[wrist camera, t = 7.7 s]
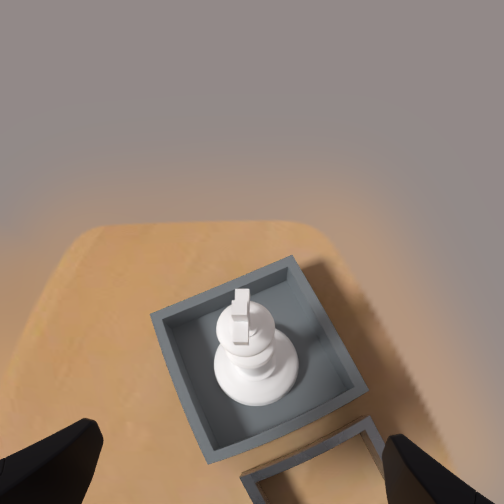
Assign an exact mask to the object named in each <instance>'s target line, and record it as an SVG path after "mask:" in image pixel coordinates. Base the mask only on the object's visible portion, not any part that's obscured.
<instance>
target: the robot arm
mask: <svg viewBox="0 0 504 504" xmlns="http://www.w3.org/2000/svg"><path fill="white" fill-rule="evenodd" d="M102 445H103V436H102V433H101V431H100V429H99V426H98V424H97V422H96V421H94V420H91V419H88V418H83V419H81V420H79V421H77V422H75V423H74V424H72V425H70V426H68V427H66V428H64V429H62V430H60V431H58V432H56V433H54V434H52V435H51V436H49V437H47V438H45V439H43V440H41V441H39V442H37V443H35V444H33V445H31V446H29V447H26V448H24V449H22V450H20V451H18V452H16V453H14V454H12V455H10V456H8V457H6V458H3V459H1V460H0V504H82V501H83V499H84V497H85V494H86V492H87V490H88V487H89V485H90V483H91V480H92V478H93V475H94V472H95V468H96V465H97V462H98V458H99V455H100V452H101V449H102ZM382 464H383V471H384V478H385V486H386V494H387V500H388V504H495V503H493V502H491V501H490V500H489V499H487V498H486V497H484V496H483V495H481V494H480V493H478V492H476V490H474V489H473V488H472V487H470V486H469V485H467V484H466V483H465V482H464V481H462V480H461V479H460V478H458V477H457V476H456V475H454V474H453V473H452V472H450V471H449V470H448V469H446V468H445V467H444V466H442V465H441V464H440V463H439V462H437V461H436V460H435V459H433V458H432V457H431V456H430V455H428V454H427V453H426V452H424V451H423V450H422V449H421V448H419V447H418V446H417V445H416V444H414V443H413V442H412V441H411V440H409V439H408V438H407V437H406V436H404V435H403V434H397V435H391V436H389V437H388V439H387V442H386V444H385V447H384V449H383V452H382Z"/></svg>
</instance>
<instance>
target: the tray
mask: <svg viewBox="0 0 504 504" xmlns="http://www.w3.org/2000/svg"><path fill="white" fill-rule="evenodd" d="M235 289H249V290H250V301H253V302H256V303H259V304H261V305H262V306H264V307H265V308H266V309H267V310H268V311H269V312H270V313H271V315H272V317H273V319H274V323H275V328H276V329H278V330H279V331H281V332H282V333H284V334H285V335H286V336H287V337H288V338H289V339H290V341H291V342H292V344H293V345H294V347H295V350H296V352H297V355H298V361H299V370H298V375H297V378H296V381H295V383H294V385H293V387H292V388H291V389H290V391H289V392H288V393H287V394H286V395H285V396H284V397H282V398H281V399H279V400H278V401H276V402H274V403H271V404H268V405H264V406H249V405H244V404H241V403H239V402H237V401H235V400H233V399H232V398H230V397H229V396H228V395H227V394H226V393H225V392H224V391H223V390H222V389H221V387H220V386H219V384H218V382H217V379H216V376H215V371H214V358H215V354H216V351H217V348H218V346H219V345H220V342H219V340H218V337H217V333H216V326H217V321H218V319H219V316H220V315H221V313H222V312H223V311H224V310H225V309H226V308H227V307H228V306H230V305H232V300H235ZM150 316H151V319H152V322H153V326H154V329H155V332H156V335H157V338H158V341H159V344H160V347H161V350H162V353H163V356H164V359H165V362H166V365H167V367H168V370H169V373H170V376H171V378H172V381H173V384H174V386H175V389H176V392H177V394H178V397H179V399H180V402H181V404H182V407H183V409H184V412H185V414H186V417H187V419H188V422H189V424H190V426H191V429H192V431H193V433H194V435H195V438H196V440H197V442H198V444H199V447H200V449H201V451H202V453H203V455H204V457H205V460H206V462H207V464H211V463H214V462H217V461H220V460H223V459H226V458H229V457H232V456H235V455H237V454H240V453H243V452H245V451H248V450H250V449H253V448H255V447H258V446H260V445H263V444H265V443H268V442H270V441H272V440H275V439H277V438H279V437H282V436H284V435H286V434H288V433H290V432H293V431H295V430H297V429H299V428H301V427H303V426H305V425H307V424H309V423H311V422H313V421H315V420H317V419H319V418H321V417H323V416H325V415H327V414H329V413H331V412H333V411H334V410H336V409H338V408H340V407H342V406H343V405H345V404H347V403H349V402H351V401H352V400H354V399H356V398H357V397H359V396H361V395H363V394H364V393H366V392H367V391H369V389H368V387H367V385H366V384H365V382H364V380H363V378H362V376H361V374H360V373H359V371H358V369H357V367H356V365H355V363H354V362H353V360H352V358H351V356H350V354H349V353H348V351H347V349H346V347H345V345H344V344H343V342H342V340H341V338H340V337H339V335H338V333H337V331H336V329H335V328H334V326H333V324H332V322H331V321H330V319H329V317H328V315H327V314H326V312H325V310H324V308H323V307H322V305H321V303H320V301H319V300H318V298H317V296H316V295H315V293H314V291H313V289H312V288H311V286H310V284H309V282H308V281H307V279H306V277H305V276H304V274H303V272H302V271H301V269H300V267H299V265H298V264H297V262H296V260H295V259H294V257H293V255H290V256H288V257H286V258H283V259H281V260H279V261H276V262H274V263H272V264H269V265H267V266H265V267H262V268H260V269H258V270H255V271H253V272H250V273H248V274H246V275H243V276H241V277H239V278H236V279H234V280H231V281H229V282H227V283H224V284H222V285H219V286H217V287H215V288H212V289H210V290H207V291H205V292H203V293H200V294H198V295H195V296H193V297H190V298H188V299H186V300H183V301H181V302H178V303H176V304H173V305H171V306H168V307H166V308H164V309H161V310H159V311H156V312H154V313H151V314H150Z"/></svg>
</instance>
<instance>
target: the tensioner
mask: <svg viewBox="0 0 504 504" xmlns="http://www.w3.org/2000/svg"><path fill="white" fill-rule="evenodd" d="M359 433H360V434H361V436H362V438H363V440H364V442H365V444H366V446H367V448H368V450H369V452H370V454H371V455H372V457H373V459H374V461H375V463H376V465H377V467H378V469H379V471H380V473H381V475H382V477H383V478H384V471H383V464H382V452H383V449H384V447H385V443H384V441H383V440H382V438H381V436H380V434H379V432H378V430H377V428H376V426H375V424H374V422H373V420H372V419H371V417H370V415H369V416H361V417H359V418H358V419H356V420H354V421H352V422H351V423H349V424H347V425H345V426H344V427H342V428H340V429H338V430H336V431H334V432H333V433H331V434H329V435H327V436H325V437H323V438H321V439H319V440H317V441H315V442H313V443H311V444H309V445H307V446H305V447H303V448H301V449H298V450H296V451H294V452H292V453H290V454H287V455H285V456H283V457H280V458H278V459H276V460H273V461H271V462H269V463H266V464H264V465H261V466H258V467H256V468H253V469H251V470H248V471H245V472H242V474H241V476H240V479H241V481H242V483H243V485H244V487H245V489H246V491H247V493H248V495H249V496H250V498H251V500H252V502H253V504H270V503H269V501H268V499H267V497H266V495H265V493H264V492H263V490H262V488H261V486H260V484H259V482H258V481H260V480H263V479H266V478H268V477H271V476H273V475H276V474H278V473H280V472H283V471H285V470H288V469H290V468H292V467H294V466H297V465H299V464H301V463H303V462H305V461H307V460H310V459H312V458H314V457H316V456H318V455H320V454H322V453H324V452H326V451H328V450H330V449H331V448H333V447H335V446H337V445H339V444H341V443H343V442H344V441H346V440H348V439H350V438H352V437H353V436H355V435H357V434H359ZM384 480H385V478H384Z"/></svg>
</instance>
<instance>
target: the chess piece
mask: <svg viewBox="0 0 504 504" xmlns="http://www.w3.org/2000/svg"><path fill="white" fill-rule="evenodd" d="M216 333H217V337H218V340H219V342H220V345H219V346H218V348H217V351H216V354H215V358H214V371H215V376H216V379H217V382H218V384H219V386H220V387H221V389H222V390H223V391H224V392H225V393H226V394H227V395H228V396H229V397H230V398H232V399H233V400H235V401H237V402H239V403H241V404H244V405H249V406H264V405H268V404H271V403H274V402H276V401H278V400H279V399H281V398H282V397H284V396H285V395H286V394H287V393H288V392H289V391H290V389H291V388H292V387H293V385H294V383H295V381H296V378H297V375H298V370H299V361H298V355H297V352H296V350H295V347H294V345H293V344H292V342H291V341H290V339H289V338H288V337H287V336H286V335H285V334H284V333H282V332H281V331H279V330H278V329H276V328H275V323H274V319H273V317H272V315H271V313H270V312H269V311H268V310H267V309H266V308H265V307H264V306H262V305H261V304H259V303H256V302H253V301H250V290H249V289H235V300H232V305H230V306H228V307H227V308H226V309H225V310H224V311H223V312H222V313H221V315H220V316H219V319H218V321H217V326H216Z"/></svg>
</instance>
